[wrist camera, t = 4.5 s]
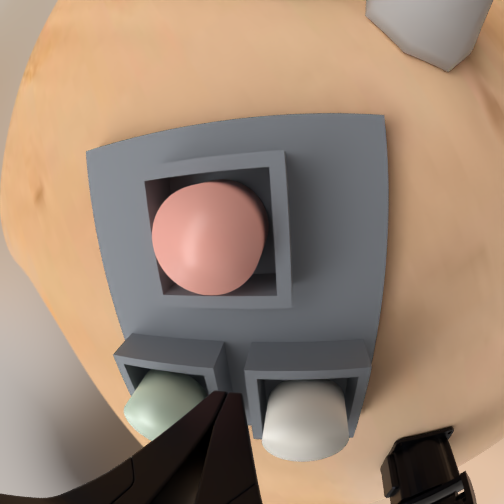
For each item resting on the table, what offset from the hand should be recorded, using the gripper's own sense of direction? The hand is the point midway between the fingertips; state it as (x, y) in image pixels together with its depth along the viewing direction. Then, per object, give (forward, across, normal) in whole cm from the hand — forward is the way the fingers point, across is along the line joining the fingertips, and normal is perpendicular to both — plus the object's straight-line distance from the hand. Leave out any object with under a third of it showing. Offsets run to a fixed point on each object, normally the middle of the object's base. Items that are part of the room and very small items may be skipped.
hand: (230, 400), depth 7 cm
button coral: (+7, +2, -4) cm, 8 cm away
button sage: (+6, +6, +6) cm, 10 cm away
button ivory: (+6, -2, +6) cm, 9 cm away
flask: (+9, -10, -16) cm, 21 cm away
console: (+8, +2, +1) cm, 9 cm away
